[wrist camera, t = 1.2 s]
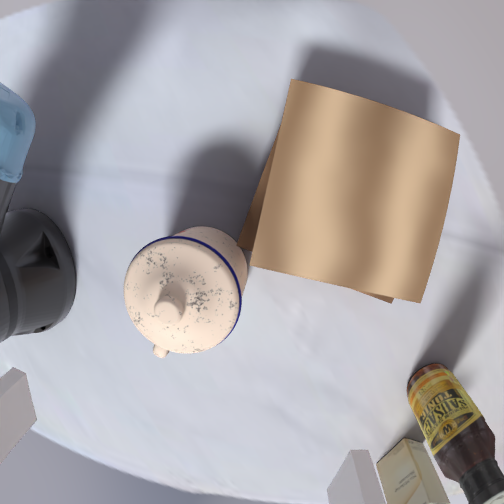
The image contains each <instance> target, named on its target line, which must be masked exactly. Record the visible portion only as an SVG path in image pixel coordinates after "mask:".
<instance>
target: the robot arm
mask: <svg viewBox="0 0 504 504" xmlns="http://www.w3.org/2000/svg"><path fill="white" fill-rule="evenodd" d="M35 128H36V122H35V117H34V114H33V112H32V110H31V108H30V107H29V105H28V104H27V103H26V102H25V101H24V100H23V99H22V98H21V97H19V96H18V95H17V94H16V93H14V92H13V91H12V90H10V89H9V88H8V87H6V86H5V85H3V84H2V83H0V343H1V342H2V341H4V340H5V339H7V338H8V337H10V336H15V335H23V334H30V333H39V332H44V331H46V330H49V329H51V328H52V327H54V326H55V325H56V324H58V323H59V322H61V321H62V320H63V319H64V318H65V317H66V316H67V314H68V313H69V311H70V309H71V307H72V304H73V301H74V296H75V287H76V279H75V269H74V264H73V259H72V256H71V253H70V250H69V247H68V245H67V242H66V240H65V238H64V237H63V235H62V233H61V232H60V230H59V229H58V227H57V226H56V225H55V224H54V222H53V221H52V220H51V219H49V218H48V217H47V216H46V215H44V214H43V213H41V212H39V211H37V210H34V209H19V210H12V211H9V212H7V210H8V207H9V204H10V200H11V197H12V195H13V192H14V189H15V186H16V183H17V182H18V181H19V180H20V179H21V177H22V174H23V169H22V168H23V165H24V162H25V159H26V156H27V153H28V150H29V148H30V145H31V142H32V140H33V137H34V133H35ZM36 421H37V418H36V414H35V410H34V406H33V402H32V398H31V394H30V390H29V385H28V381H27V376H26V373H24V372H22V371H20V370H18V369H16V368H14V367H13V368H12V369H10V370H9V371H8V372H7V373H6V374H5V375H3V376H2V377H1V378H0V464H1V463H2V462H3V460H4V459H5V458H6V457H7V455H8V454H9V453H10V452H11V450H12V449H13V448H14V447H15V446H16V444H17V443H18V442H19V441H20V440H21V438H22V437H23V436H24V435H25V434H26V432H27V431H28V430H29V429H30V428H31V427H32V425H33V424H34V423H35V422H36ZM327 492H328V498H329V504H386V503H385V500H384V497H383V494H382V491H381V487H380V484H379V481H378V478H377V475H376V472H375V469H374V466H373V463H372V460H371V457H370V454H369V451H368V450H350V451H349V453H348V455H347V457H346V458H345V460H344V462H343V464H342V465H341V467H340V469H339V471H338V472H337V474H336V476H335V477H334V479H333V481H332V482H331V484H330V486H329V487H328V489H327Z"/></svg>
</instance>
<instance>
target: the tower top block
mask: <svg viewBox="0 0 504 504" xmlns="http://www.w3.org/2000/svg"><path fill="white" fill-rule="evenodd" d="M459 139H460V134H457V133H455V132H453V131H451V130H448V129H446V128H444V127H442V126H439V125H437V124H434V123H432V122H430V121H427V120H425V119H422V118H420V117H417V116H415V115H412V114H409V113H407V112H404V111H401V110H398V109H396V108H393V107H390V106H387V105H384V104H381V103H378V102H375V101H372V100H369V99H366V98H363V97H359V96H356V95H353V94H349V93H346V92H342V91H339V90H335V89H331V88H328V87H324V86H320V85H316V84H312V83H308V82H303V81H299V80H294V79H291V82H290V87H289V91H288V96H287V100H286V105H285V109H284V113H283V118H282V122H281V127H280V131H279V136H278V140H277V145H276V149H275V154H274V158H273V162H272V167H271V171H270V176H269V180H268V185H267V189H266V194H265V198H264V202H263V207H262V211H261V216H260V220H259V225H258V229H257V234H256V238H255V243H254V247H253V251H252V256H251V260H250V266H255V267H259V268H263V269H268V270H272V271H276V272H281V273H285V274H289V275H294V276H298V277H303V278H307V279H312V280H316V281H320V282H325V283H329V284H334V285H338V286H343V287H347V288H352V289H356V290H361V291H365V292H370V293H375V294H379V295H384V296H388V297H393V298H398V299H402V300H407V301H412V302H416V303H421V300H422V297H423V294H424V291H425V288H426V285H427V282H428V279H429V276H430V272H431V269H432V266H433V262H434V259H435V255H436V252H437V248H438V244H439V241H440V237H441V233H442V229H443V225H444V221H445V216H446V212H447V208H448V203H449V198H450V193H451V188H452V183H453V178H454V172H455V166H456V160H457V153H458V146H459Z"/></svg>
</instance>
